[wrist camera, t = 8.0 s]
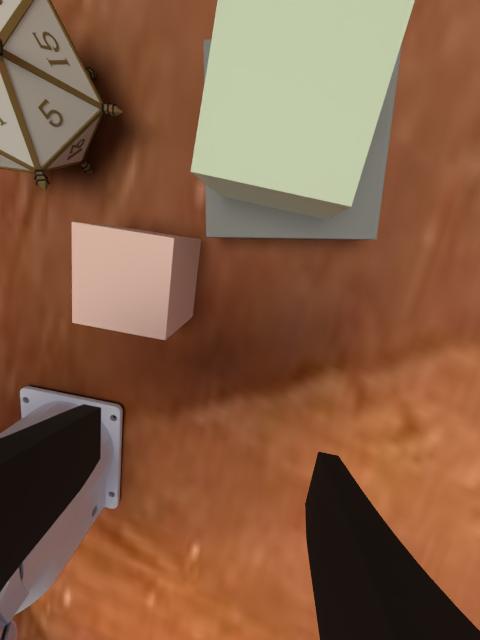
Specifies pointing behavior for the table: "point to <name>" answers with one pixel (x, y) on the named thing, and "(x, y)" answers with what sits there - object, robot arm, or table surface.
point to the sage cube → (295, 99)
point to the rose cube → (133, 279)
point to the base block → (278, 224)
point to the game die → (44, 93)
